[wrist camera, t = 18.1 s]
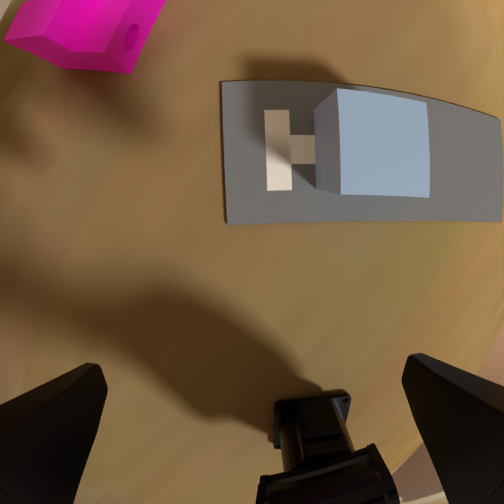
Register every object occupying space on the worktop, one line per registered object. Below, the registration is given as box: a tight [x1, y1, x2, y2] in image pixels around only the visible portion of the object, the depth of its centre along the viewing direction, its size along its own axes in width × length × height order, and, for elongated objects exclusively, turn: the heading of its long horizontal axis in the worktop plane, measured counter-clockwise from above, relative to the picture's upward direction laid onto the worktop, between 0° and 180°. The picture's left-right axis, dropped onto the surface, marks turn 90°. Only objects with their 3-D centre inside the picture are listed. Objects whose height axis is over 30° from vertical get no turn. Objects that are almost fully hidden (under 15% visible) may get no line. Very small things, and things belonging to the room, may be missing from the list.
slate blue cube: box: [313, 88, 430, 198], centre depth 15 cm, size 5×5×5 cm
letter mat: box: [222, 80, 503, 225], centre depth 17 cm, size 9×23×1 cm, turn 92°
